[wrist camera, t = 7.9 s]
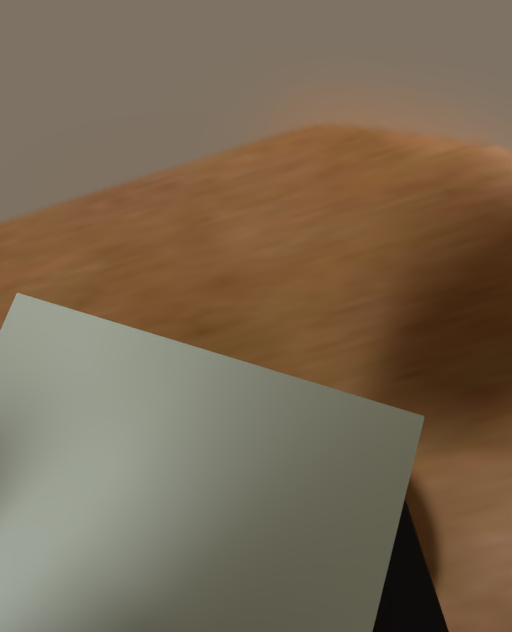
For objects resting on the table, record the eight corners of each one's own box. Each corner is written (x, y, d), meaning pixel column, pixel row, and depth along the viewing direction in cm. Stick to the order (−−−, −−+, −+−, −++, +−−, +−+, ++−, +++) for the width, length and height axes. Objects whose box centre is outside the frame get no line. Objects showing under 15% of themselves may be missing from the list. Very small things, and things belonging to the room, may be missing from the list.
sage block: (371, 432, 15) (424, 415, 4) (329, 591, 14) (269, 1059, 3) (232, 387, 16) (17, 292, 6) (184, 530, 15) (-179, 731, 5)
